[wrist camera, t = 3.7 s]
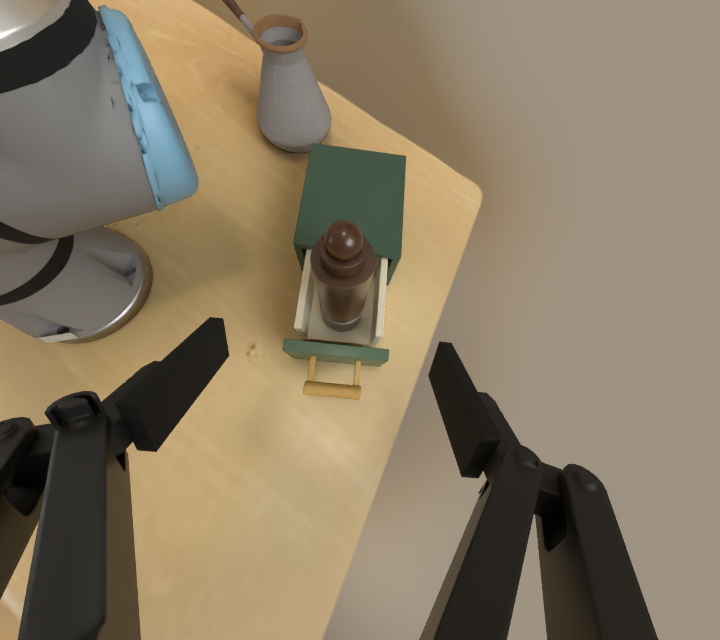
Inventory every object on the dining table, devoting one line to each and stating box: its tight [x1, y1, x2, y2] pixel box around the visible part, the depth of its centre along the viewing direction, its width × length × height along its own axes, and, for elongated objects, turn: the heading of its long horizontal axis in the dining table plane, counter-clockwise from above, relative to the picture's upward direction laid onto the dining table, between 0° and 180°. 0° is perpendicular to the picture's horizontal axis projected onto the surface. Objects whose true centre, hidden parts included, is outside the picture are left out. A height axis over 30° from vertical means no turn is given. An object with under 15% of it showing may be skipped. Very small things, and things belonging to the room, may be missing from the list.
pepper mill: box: [310, 219, 376, 332], centre depth 24 cm, size 5×5×18 cm
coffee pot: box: [223, 0, 331, 153], centre depth 36 cm, size 21×12×15 cm, turn 49°
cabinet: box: [293, 143, 406, 285], centre depth 34 cm, size 15×12×8 cm
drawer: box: [282, 249, 389, 399], centre depth 30 cm, size 18×11×6 cm, turn 175°
